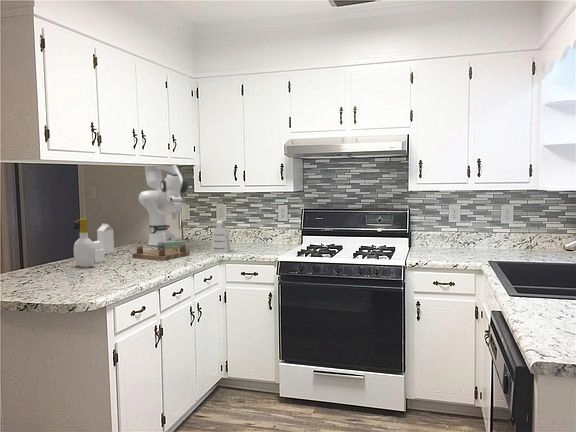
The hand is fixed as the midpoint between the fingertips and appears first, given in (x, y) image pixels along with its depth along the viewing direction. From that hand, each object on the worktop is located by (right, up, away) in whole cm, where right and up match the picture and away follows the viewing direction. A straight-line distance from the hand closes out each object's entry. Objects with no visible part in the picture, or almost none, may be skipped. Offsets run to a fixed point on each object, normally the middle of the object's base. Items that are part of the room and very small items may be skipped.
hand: (174, 219), depth 316 cm
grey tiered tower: (+31, -21, -3) cm, 38 cm away
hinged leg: (0, -18, -7) cm, 20 cm away
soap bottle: (-36, -26, -55) cm, 70 cm away
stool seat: (-2, -23, -22) cm, 32 cm away
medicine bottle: (-36, -24, -40) cm, 59 cm away
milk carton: (-41, -22, -9) cm, 48 cm away
